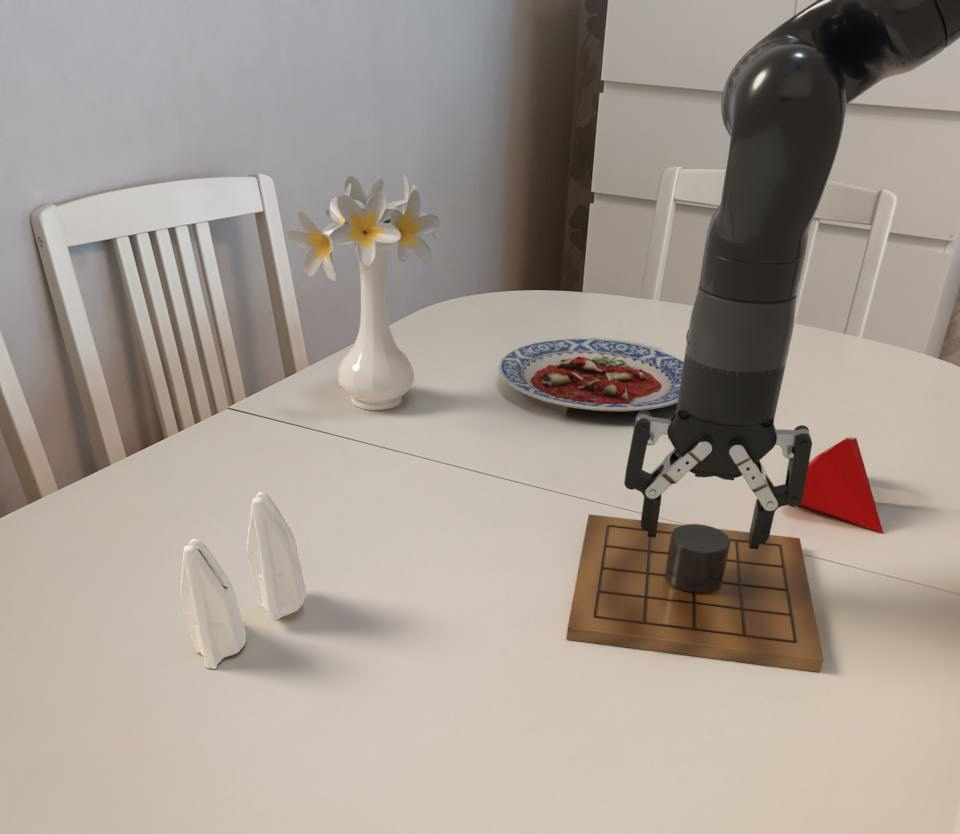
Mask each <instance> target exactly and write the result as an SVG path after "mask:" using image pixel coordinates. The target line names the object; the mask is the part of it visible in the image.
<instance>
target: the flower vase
mask: <svg viewBox="0 0 960 834" xmlns="http://www.w3.org/2000/svg"><path fill="white" fill-rule="evenodd" d="M343 184H344V185H343V189H344V193H342V194H341V193H340V195H338V196H337V197H333V198H332V199H331V201H330V203H329V207H327V209H326V210H325V215H326V216H327V217H329V218H330V219H332V220H333V221H334V222H335V223H330V224H328V225H327V226H325V227H324V228H323V230H321V229H320V228H319V227H318V226H317V225H316V224H315V223H314V222H313V220H312V219H311V218H310V217H309V216H308V214H306V212H305V211H303V210H299V211H298V213H297V215H298V220H299V223H300V225H301V227H302V228H303V229H304V230H300V229H296V228H289V229H287V230H286V231H285V236H286V238H287V239H288V240H289V241H290V243H292V245H294V246H295V247H298V248H300V249H304V250H305V249H306V250H307V249H308V250H307V252H306V253H305V256H304V259H303V270H304V273H305V275H306V276H307V277H309V278H313V277H315V276H316V274H317V273H318V271H319V269H320V267H321V265H322V268H323V271H324V273H325V275H326V276H327V278H328V279H329V280H330V281H331V282H334V283H335V282H336V281H337V273H336V269H335V263H334V260H333V252H334V249H335V247H346V246H351V245H353V247H354V250H355V252H356V257H357V258H356V259H357V263H358V268H359V277H360V278H359V279H360V318H359V328H358V333H357V335H356V338H355V341H354V343H353V345H352V347H351V348H350V349H349V350H348V351H347V352H346V353H345V354H344V356H343V358H341V360H340V362H339V364H338V368H337V371H336V373H337V374H336V377H337V383H338V384H339V385H340V387H341V388H342V390H343V391H344V393H346V394H347V395H348V396H350V400H351V403H352V404H353V405H354V406H356V407H357V408H360V409H361V410H362V409H363V410H367V411H387V410H391V409H394V408H396V407H398V406H400V405H401V403H402V401H403V396H404V395H405V394H407V393H408V392H409V391H410V390H411V388H412V386H413V384H414V382H415V378H416V375H415V370H414V367H413V364H412V362H411V360H410V358H409V357H408V356H407V355H406V354H405V353H404V352H403V351H402V350H401V348H400V347H399V346H398V345H397V343H396V341H395V339H394V336H393V333H392V330H391V325H390V322H389V321H390V320H389V319H390V318H389V310H388V291H387V271H388V261H389V254H390V250H391V247H392V245H393V244H395V243H397V257H398V260H399V261H400V262H401V263H405V262H407V260H408V259H409V258H410V255H411V250H412V251H413V252H414V254H415V255H416V256H417V257H418V258H419V260H421V262H423V263H424V264H426V265H427V264H428V265H430V264H431V262H432V259H433V258H432V251H431V248H430V246H429V244H428V242H426V240H425V239H423V238H422V237H425V236H429V235H431V236H432V237H434V238H435V239H437V236H436V234H435V233H434V232H436V231H437V230H438V228H439V226H440V222H441V221H440V218H439V217H438V216H437V215H435V214H433V213H432V214H431V213H428V214H426V213H425V212H423V211H420V209H421V204H422V201H421V195H420V192H419V190H418V188H417V187H416V185H414V184H412V186H411V188H410V184H409V180H408V178H407V176H406V173H403V186H404V187H403V188H404V189H403V190H404V191H403V192H404V193H403V196H404V197H403V199H399V200H394V201H391V202H389V203H388V198H387V195H386V194H385V193H384V192H382V191H383V188H384V185H385V182H384V180H383V178H377V179H376V180H374V181H373V182H371V183H370V184H369V186H368V188H367V189H366V192H364V190H363V189H364V188H363V187H362V184H361V183H360V181H359V180H358V178H356V177H355V176H353V175H349V176H347V177H346V178H345V180H344V183H343ZM401 207H403V209H402V211H400V210H399V209H400V208H401ZM388 217H389V218H388ZM386 218H388V219H386Z"/></svg>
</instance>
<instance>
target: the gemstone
mask: <svg viewBox="0 0 960 834" xmlns="http://www.w3.org/2000/svg"><path fill="white" fill-rule="evenodd" d="M874 498H875V497H874V495H873V491H872V488H871V484H870V480H869V477H868V474H867V470H866V467H865V463H864V460H863V455H862V453H861V449H860V446H859V442H858V439H857V437H846V438H844V439H842V440H841V441H839V442H837V443H835V444H834V445H832V446H831V447H829V448H827V449H825V450H824V451H822V452H821V453H819V454H817V455H816V456H815V457H814V458H812V460H810V461H809V465H808V471H807V477H806V483H805V488H804V494H803V500H802V503H801V504H800V505H799V507H800V506H801V507H803V508H806V509H809V510H812V511H815V512H818V513H821V514H824V515H827V516H831V517H833V518H836V519H839V520H842V521H845V522H847V523H851V524H853V525H856V526H860V527H862V528H866V529H870V530H872V531H875V532H878V533H881V534H884V530H883V525H882V523H881V519H880V516H879V512H878V509H877V505H876V502H875V499H874Z"/></svg>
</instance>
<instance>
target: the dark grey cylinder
mask: <svg viewBox="0 0 960 834" xmlns="http://www.w3.org/2000/svg"><path fill="white" fill-rule="evenodd" d="M681 525H682V526H679V527H677V528H675V529H674V530H673V531H672V533H671V538H670V544H669V550H668V556H667V562H666V568H665V578H666V580H667V581H668V582H669V583H670V584H671V585H672V586H674V587H676V588H678V589H681V590H684V591H687V592H693V593H707V592H712V591H714V590H717V589H718V588H719V587H720V586H721V585H722V582H723V577H724V572H725V567H726V563H727V558H728V553H729V548H730V543H731V542H730V538H729V537H728V536H727V535H726V534H725V533H724V532H722V531H721V530H719V529H720V528H717V527H714V526H711V525H707V524H700V523H699V524H698V523H688V524H681Z"/></svg>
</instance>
